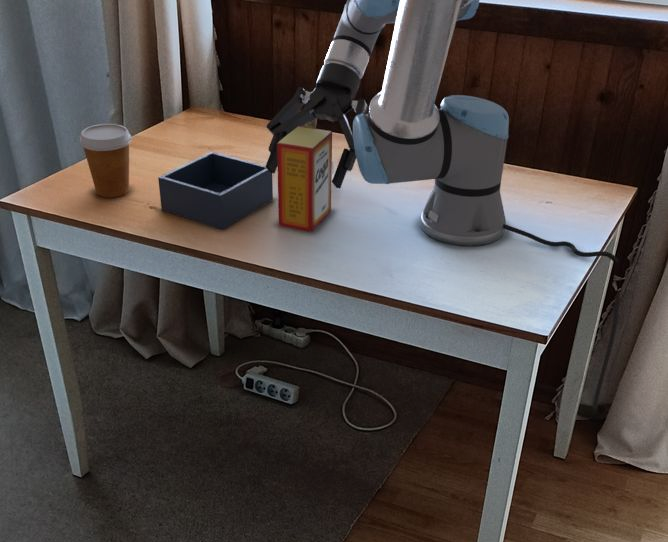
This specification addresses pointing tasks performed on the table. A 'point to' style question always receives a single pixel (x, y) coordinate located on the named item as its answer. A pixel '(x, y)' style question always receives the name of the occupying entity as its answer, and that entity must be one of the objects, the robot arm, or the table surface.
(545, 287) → the table surface
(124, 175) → the disposable coffee cup
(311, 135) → the baking soda box
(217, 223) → the bin
